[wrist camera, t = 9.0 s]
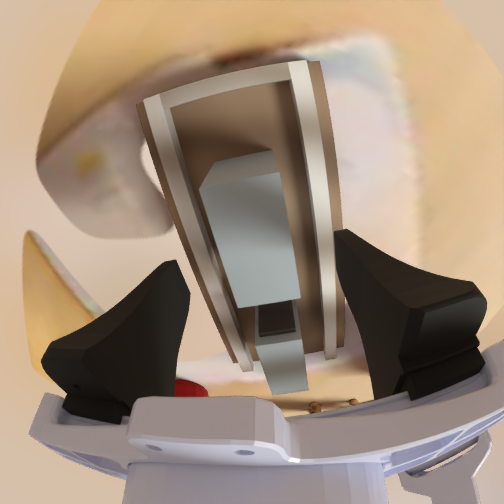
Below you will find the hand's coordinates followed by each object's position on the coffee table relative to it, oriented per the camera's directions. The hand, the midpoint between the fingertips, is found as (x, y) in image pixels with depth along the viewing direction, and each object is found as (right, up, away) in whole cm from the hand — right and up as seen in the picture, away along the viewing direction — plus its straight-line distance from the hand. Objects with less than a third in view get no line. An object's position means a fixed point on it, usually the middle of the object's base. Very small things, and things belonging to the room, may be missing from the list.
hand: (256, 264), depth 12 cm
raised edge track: (+1, +1, +8) cm, 8 cm away
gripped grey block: (0, +3, +5) cm, 6 cm away
